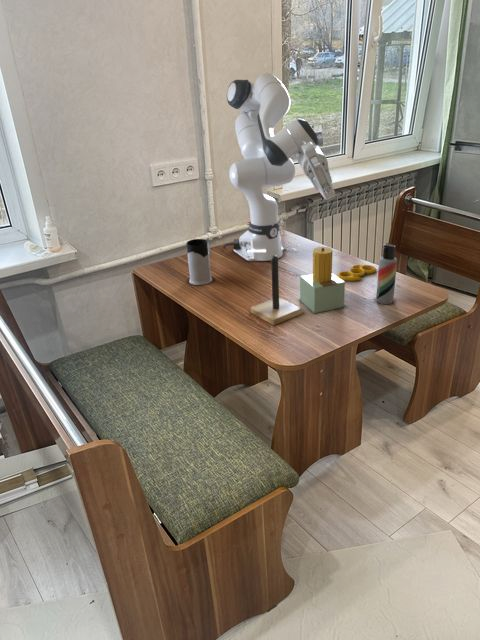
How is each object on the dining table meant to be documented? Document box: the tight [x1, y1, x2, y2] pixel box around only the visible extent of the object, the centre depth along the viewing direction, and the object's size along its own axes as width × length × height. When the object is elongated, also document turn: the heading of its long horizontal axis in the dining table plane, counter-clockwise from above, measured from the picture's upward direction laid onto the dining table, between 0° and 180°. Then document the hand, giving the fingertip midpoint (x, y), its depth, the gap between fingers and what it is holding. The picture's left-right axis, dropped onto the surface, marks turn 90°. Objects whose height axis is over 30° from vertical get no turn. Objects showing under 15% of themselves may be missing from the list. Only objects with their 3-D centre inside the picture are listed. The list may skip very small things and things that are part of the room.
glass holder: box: [186, 238, 213, 286], centre depth 200 cm, size 9×14×15 cm, turn 159°
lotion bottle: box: [375, 242, 398, 305], centre depth 175 cm, size 6×6×20 cm
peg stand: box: [250, 255, 303, 326], centre depth 170 cm, size 12×12×20 cm
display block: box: [299, 272, 346, 314], centre depth 178 cm, size 11×11×9 cm
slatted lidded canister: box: [312, 246, 337, 287], centre depth 172 cm, size 9×6×11 cm
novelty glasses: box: [336, 264, 377, 282], centre depth 200 cm, size 17×2×10 cm
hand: (323, 179), depth 174 cm, fingers open, 8 cm apart
